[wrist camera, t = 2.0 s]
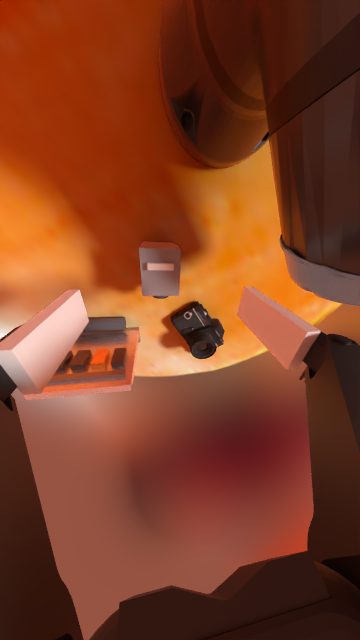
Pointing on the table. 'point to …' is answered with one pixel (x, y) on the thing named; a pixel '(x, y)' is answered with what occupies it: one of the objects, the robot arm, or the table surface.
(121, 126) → the table surface
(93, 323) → the gray cylinder
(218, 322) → the film camera
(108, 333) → the breaker panel
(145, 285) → the grey tall block
